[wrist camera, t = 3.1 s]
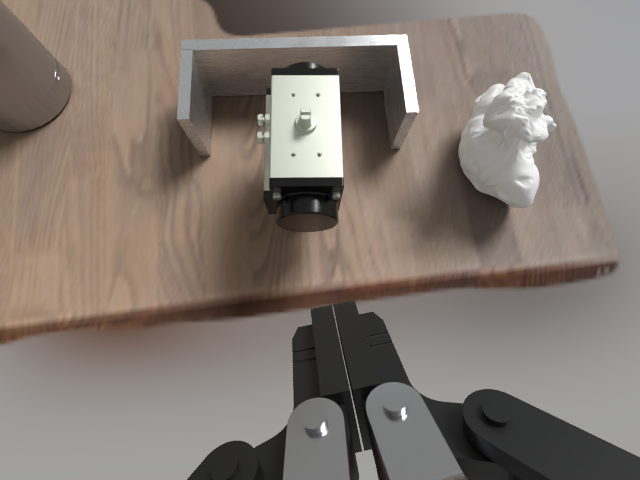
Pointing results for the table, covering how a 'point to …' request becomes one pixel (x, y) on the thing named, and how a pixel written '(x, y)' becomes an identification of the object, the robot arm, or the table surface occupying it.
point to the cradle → (266, 53)
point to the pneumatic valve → (303, 147)
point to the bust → (506, 141)
